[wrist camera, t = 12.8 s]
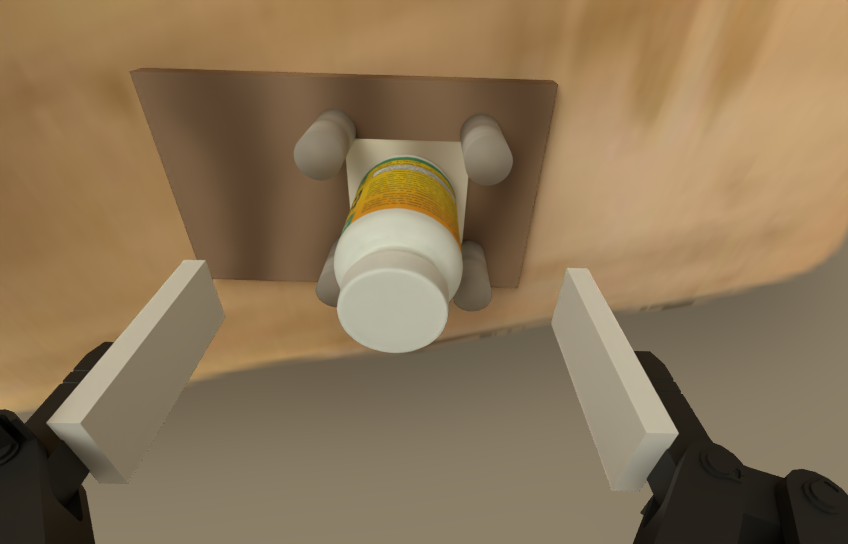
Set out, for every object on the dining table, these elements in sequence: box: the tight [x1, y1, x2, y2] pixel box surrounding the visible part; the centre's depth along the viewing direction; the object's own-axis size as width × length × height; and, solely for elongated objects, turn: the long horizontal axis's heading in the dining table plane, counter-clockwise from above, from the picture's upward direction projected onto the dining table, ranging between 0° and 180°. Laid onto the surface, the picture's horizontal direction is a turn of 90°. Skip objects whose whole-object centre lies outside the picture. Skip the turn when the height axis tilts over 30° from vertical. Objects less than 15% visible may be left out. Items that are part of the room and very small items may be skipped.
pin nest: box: [130, 68, 558, 311], centre depth 21 cm, size 20×12×5 cm, turn 89°
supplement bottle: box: [334, 155, 463, 353], centre depth 18 cm, size 5×5×10 cm
